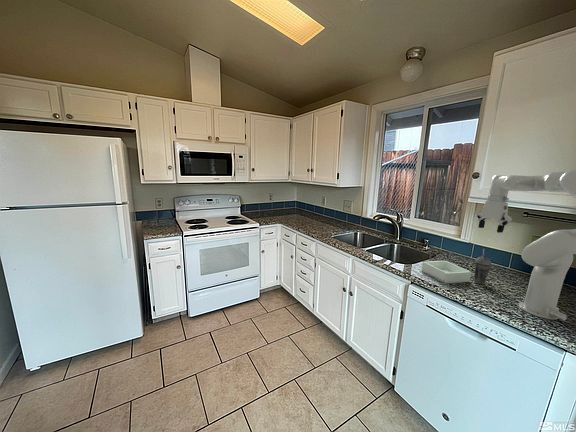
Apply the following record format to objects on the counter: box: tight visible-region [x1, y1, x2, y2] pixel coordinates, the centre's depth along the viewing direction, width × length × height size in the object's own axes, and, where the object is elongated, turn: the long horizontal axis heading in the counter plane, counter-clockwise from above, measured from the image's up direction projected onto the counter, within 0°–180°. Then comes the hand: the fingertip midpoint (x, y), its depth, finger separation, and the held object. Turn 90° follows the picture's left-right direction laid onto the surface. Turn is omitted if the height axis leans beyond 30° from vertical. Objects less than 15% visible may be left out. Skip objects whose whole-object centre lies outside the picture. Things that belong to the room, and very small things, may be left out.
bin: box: [421, 260, 472, 284], centre depth 139 cm, size 17×17×6 cm
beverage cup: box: [473, 248, 493, 285], centre depth 131 cm, size 7×7×20 cm
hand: (490, 230), depth 127 cm, fingers open, 9 cm apart
